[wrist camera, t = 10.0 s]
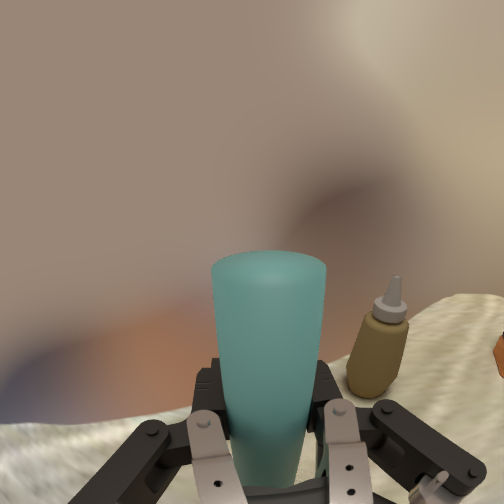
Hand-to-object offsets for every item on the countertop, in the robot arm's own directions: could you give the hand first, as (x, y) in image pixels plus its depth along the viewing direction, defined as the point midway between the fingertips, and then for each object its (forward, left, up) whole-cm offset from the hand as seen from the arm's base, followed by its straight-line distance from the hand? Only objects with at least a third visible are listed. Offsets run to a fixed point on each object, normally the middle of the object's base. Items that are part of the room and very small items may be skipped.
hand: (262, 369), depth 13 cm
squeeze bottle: (-19, -15, -20) cm, 31 cm away
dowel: (0, +3, -9) cm, 10 cm away
